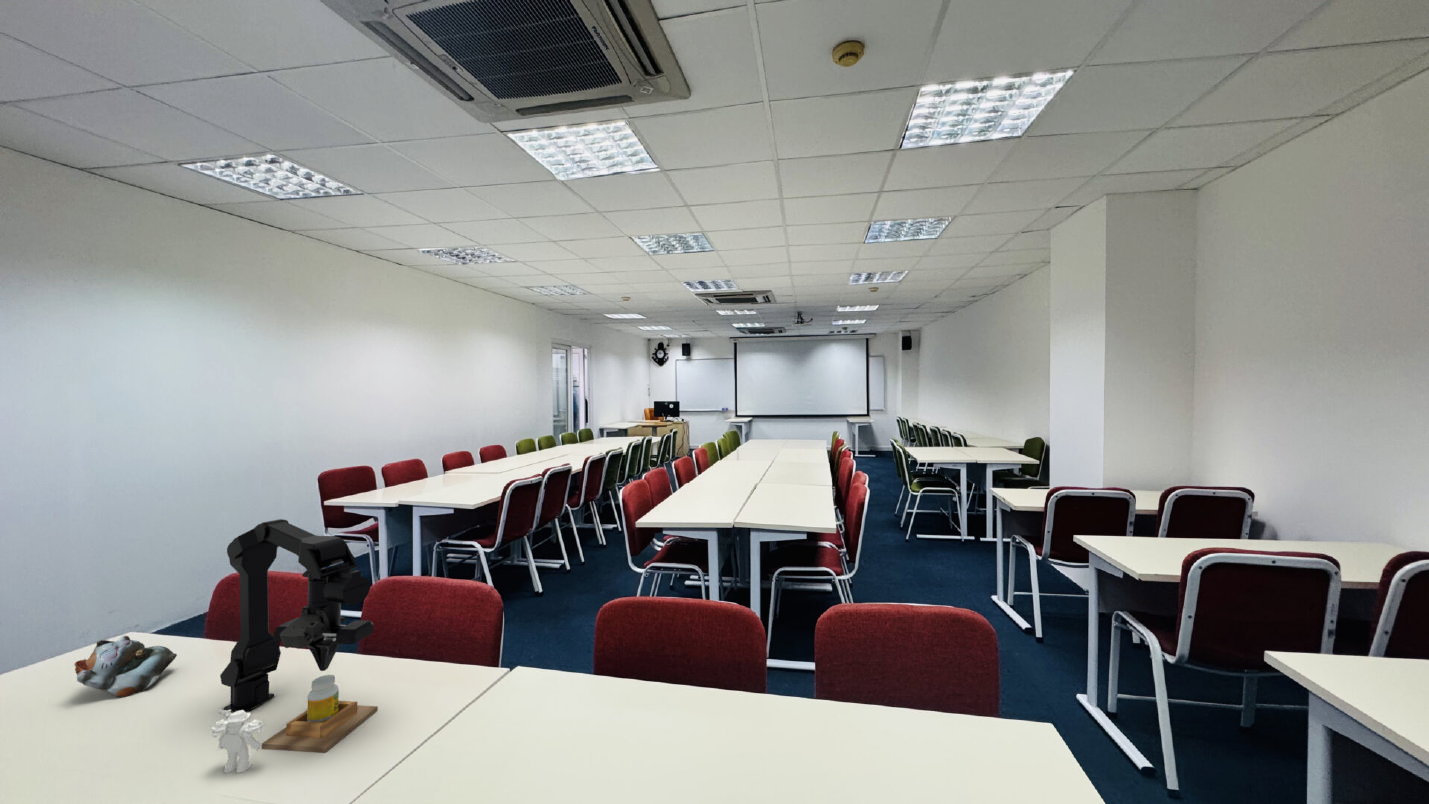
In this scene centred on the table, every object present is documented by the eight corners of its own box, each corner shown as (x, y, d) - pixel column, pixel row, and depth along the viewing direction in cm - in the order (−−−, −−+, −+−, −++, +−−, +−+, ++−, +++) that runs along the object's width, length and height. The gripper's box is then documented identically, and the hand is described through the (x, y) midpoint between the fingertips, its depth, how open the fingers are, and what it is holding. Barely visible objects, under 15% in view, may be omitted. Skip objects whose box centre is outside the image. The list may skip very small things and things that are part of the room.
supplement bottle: (307, 722, 109) (307, 678, 109) (337, 712, 112) (338, 670, 113) (307, 734, 105) (307, 688, 105) (338, 724, 108) (339, 680, 108)
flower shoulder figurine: (204, 775, 95) (205, 712, 95) (225, 761, 99) (226, 699, 99) (251, 776, 94) (252, 712, 95) (270, 761, 98) (271, 700, 99)
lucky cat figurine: (141, 697, 120) (97, 656, 115) (89, 719, 119) (43, 679, 114) (189, 650, 134) (152, 612, 129) (144, 670, 133) (105, 632, 128)
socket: (261, 748, 102) (261, 731, 102) (320, 707, 116) (320, 692, 116) (325, 752, 101) (325, 735, 101) (377, 710, 115) (377, 695, 115)
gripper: (247, 611, 102) (246, 688, 101) (333, 614, 100) (332, 693, 100) (297, 591, 113) (297, 661, 112) (375, 594, 111) (375, 664, 111)
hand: (323, 670), depth 109 cm, fingers closed
